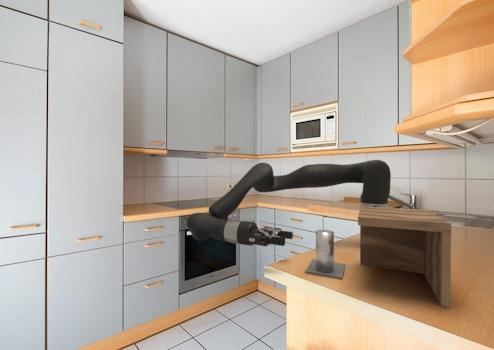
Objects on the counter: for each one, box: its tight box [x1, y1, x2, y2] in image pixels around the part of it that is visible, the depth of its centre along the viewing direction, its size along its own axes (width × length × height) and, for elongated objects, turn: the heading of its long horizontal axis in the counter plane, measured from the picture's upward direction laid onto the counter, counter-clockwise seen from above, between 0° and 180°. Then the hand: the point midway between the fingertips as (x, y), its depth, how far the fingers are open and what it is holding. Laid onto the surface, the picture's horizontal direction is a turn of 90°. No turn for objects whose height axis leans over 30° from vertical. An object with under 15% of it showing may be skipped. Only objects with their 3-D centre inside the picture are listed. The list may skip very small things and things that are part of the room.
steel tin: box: [315, 229, 335, 273], centre depth 74 cm, size 5×5×11 cm
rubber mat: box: [304, 258, 347, 280], centre depth 76 cm, size 11×10×1 cm
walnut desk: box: [357, 206, 452, 309], centre depth 67 cm, size 21×18×18 cm
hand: (288, 238), depth 77 cm, fingers open, 8 cm apart
